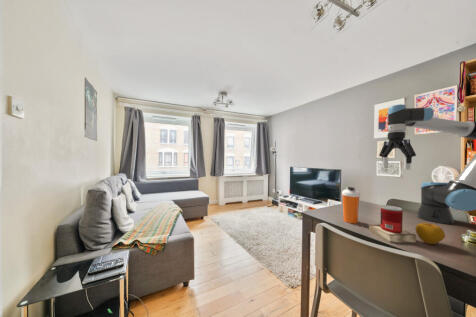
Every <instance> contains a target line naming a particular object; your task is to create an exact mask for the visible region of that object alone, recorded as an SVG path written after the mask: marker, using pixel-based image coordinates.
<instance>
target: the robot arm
mask: <svg viewBox="0 0 476 317" xmlns="http://www.w3.org/2000/svg"><path fill="white" fill-rule="evenodd" d="M434 112H435V111H434V109H433V107H425V106H423V107H412V108H408V107H407V105H405V104H403V103H402V104H393V105H391V106H389V107H388V110H387V132H388V133H387V140H388V141H387V140H385V141H384V142H383V146H382V148H381V150H380V153H379V154H378V157H381V160H382V161H381V163H382V168H383V169H387V168H389V157H388V156H389V155H390V153H391V152H392V150H394V149H399V150H400V151H401V153H402V155H404V159H403V161H404V162H403V170H411V164H412V160H413V159H412V158H413V157H416V156H417V154H416V152H415V150H414V148H413V146H412V144H411V140H410V139H405V138H406V127H410V128H417V129H423V130H428V131H434V132H440V133H446V134H452V135H457V136H458V137H460V138H466V139H471V140H476V120H475V121H474V120H467V121H460V120H454V119H447V118H446V119H445V118H440V117H434ZM420 189H421V190H420V195H421V197H420V206H419V208H418V210H417V212H416V216H417V218H419V219H422V220H424V221H428V222H433V223H439V224H445V225H447V224H448V225H449V224H451V225H452V224H455V219H454V217H453V214H452V211H451V209H453V210H456V211H457V210H458V211H463V212H472V211H475V210H476V153H475V154H474V156H473V157H472V158H471V159H470V161H469V162H468V163H467V164H466V165H465V167H464V168H463V169H462V171H461V172H460V174H458V175H457V178H455V179H450V180H449V181H448V182H438V181H437V182H434V181H433V182H432V181H424V182H422V183H421V187H420ZM450 208H451V209H450Z"/></svg>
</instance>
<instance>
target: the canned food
mask: <svg viewBox="0 0 476 317" xmlns="http://www.w3.org/2000/svg"><path fill="white" fill-rule="evenodd" d="M403 211H404V210H403V208H402V207H398V206H395V205H388V204H387V205H386V204H385V205H380V224H379V225H380V226H381V228H382V229H383V230H385V231H388V232H392V233H401V232H402V230H403V220H404V219H403V217H404V216H403V214H404V212H403Z"/></svg>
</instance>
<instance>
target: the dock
mask: <svg viewBox="0 0 476 317" xmlns="http://www.w3.org/2000/svg"><path fill="white" fill-rule="evenodd" d="M368 225H369V227H368V231H369V232H370V233H372V234H374V235H376V236H378V237H379V238H381V239H383V240H385V241H387V242H388V243H417V234H415V233H411V232H409V231H407V230H404V229H402V232H401V233H392V232H388V231H385V230H383V229H382V228H381V226H380V224H368Z"/></svg>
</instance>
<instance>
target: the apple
mask: <svg viewBox="0 0 476 317" xmlns="http://www.w3.org/2000/svg"><path fill="white" fill-rule="evenodd" d="M415 233H416V236H418V238H419V239H420V240H421V241H422V242H423V243H425V244H428V245H436V244H438V243H440V242H442V241H443V240H444V239H446V238H445V237H446V233H445V232H444V229H442V227H440V226H439V225H437V224H433V223H429V222H420V223H418V224H417V225H416V226H415Z"/></svg>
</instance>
